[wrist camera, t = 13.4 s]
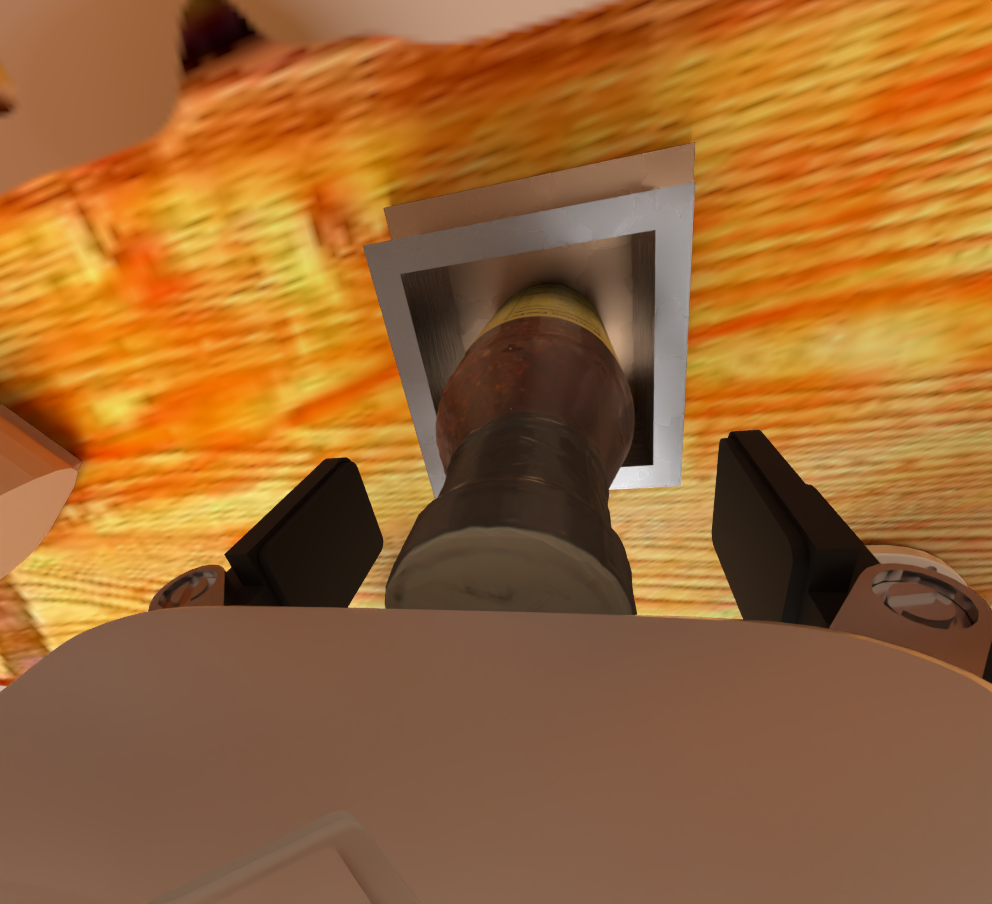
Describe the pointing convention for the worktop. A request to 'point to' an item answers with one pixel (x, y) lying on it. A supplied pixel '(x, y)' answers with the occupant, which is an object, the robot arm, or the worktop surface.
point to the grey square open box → (551, 260)
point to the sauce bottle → (526, 470)
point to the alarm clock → (29, 487)
